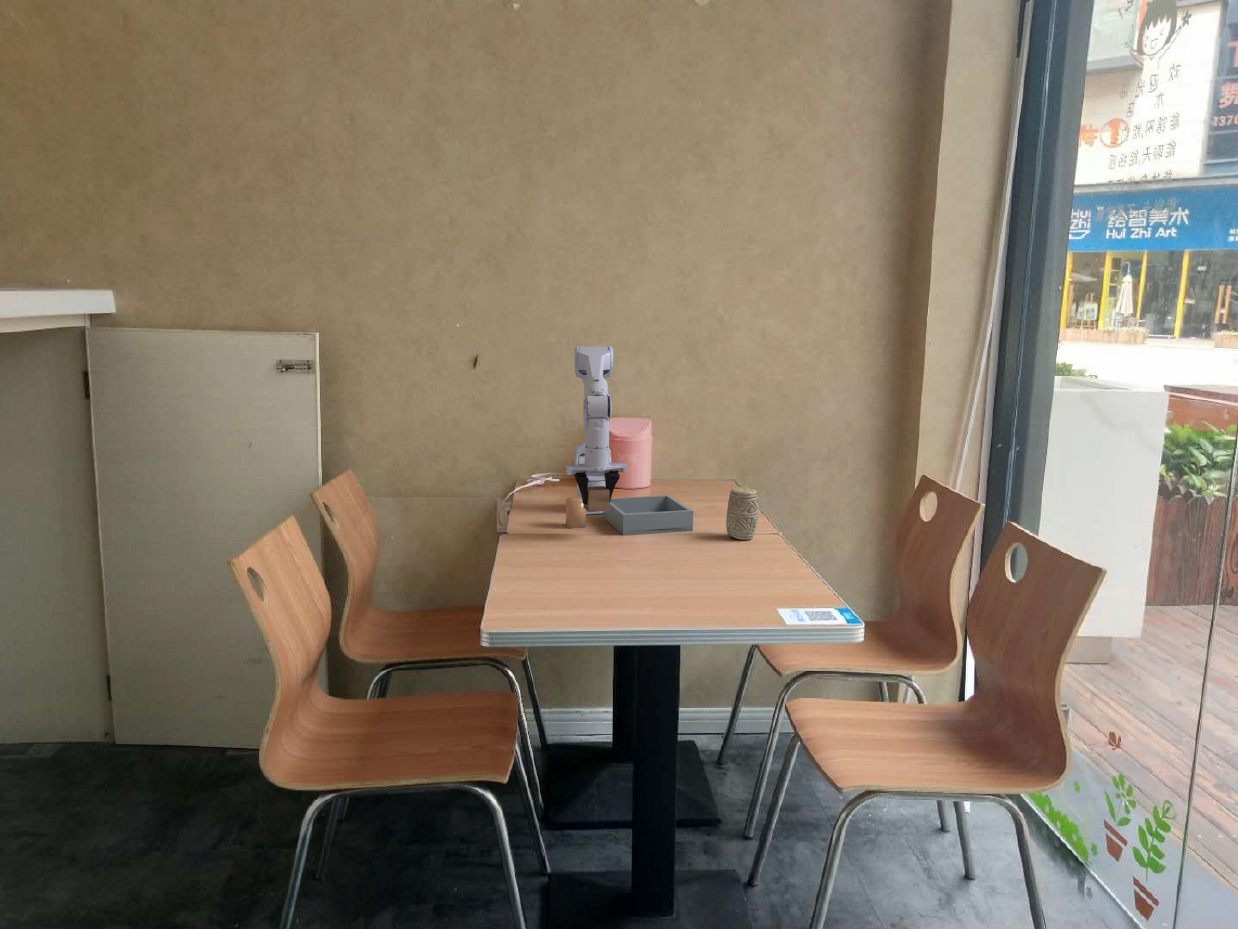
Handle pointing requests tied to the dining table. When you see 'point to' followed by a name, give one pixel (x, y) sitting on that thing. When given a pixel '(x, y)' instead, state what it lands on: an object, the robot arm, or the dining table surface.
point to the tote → (648, 515)
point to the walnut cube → (597, 499)
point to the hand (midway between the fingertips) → (596, 503)
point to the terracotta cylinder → (575, 513)
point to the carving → (742, 513)
